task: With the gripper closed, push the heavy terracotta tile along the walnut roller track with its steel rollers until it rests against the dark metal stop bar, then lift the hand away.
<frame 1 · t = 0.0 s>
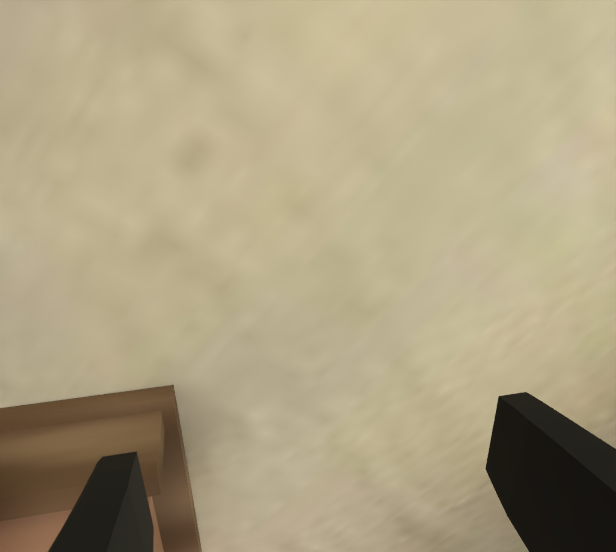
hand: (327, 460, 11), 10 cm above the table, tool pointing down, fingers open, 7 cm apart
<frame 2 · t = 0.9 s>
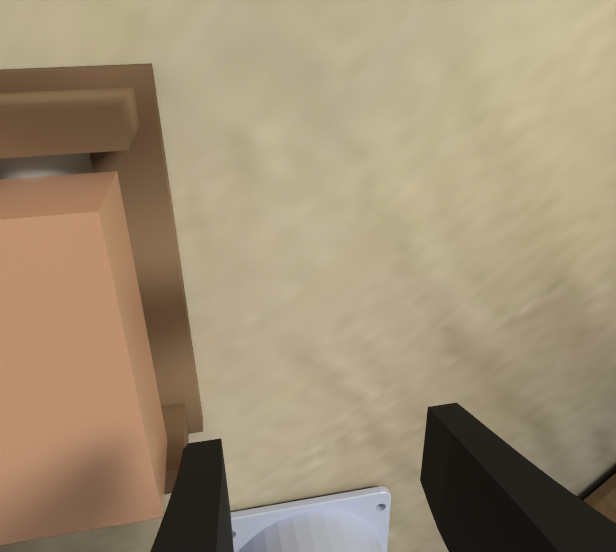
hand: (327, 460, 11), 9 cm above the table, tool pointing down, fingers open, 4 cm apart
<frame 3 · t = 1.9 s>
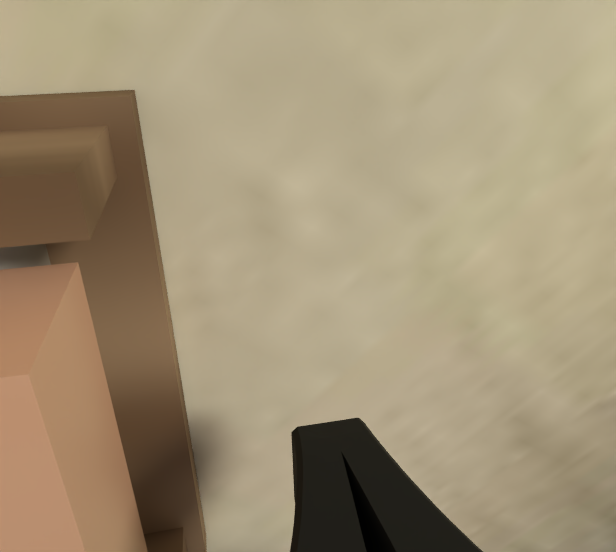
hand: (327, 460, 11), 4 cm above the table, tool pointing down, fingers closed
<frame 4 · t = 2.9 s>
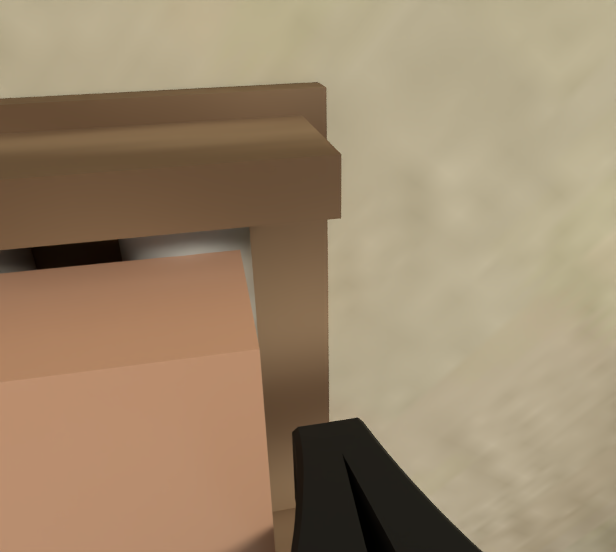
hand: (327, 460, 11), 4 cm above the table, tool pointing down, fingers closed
tile: (0, 486, 10), point 3 cm above the table, touching roller track
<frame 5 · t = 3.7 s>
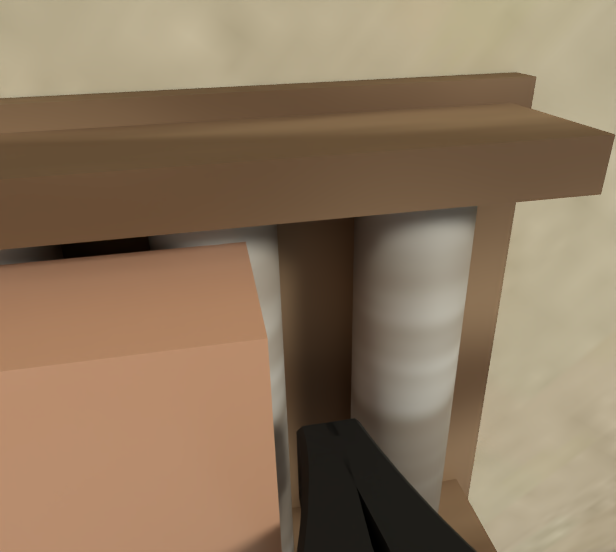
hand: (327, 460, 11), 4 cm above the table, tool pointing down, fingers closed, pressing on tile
roller track: (148, 366, 14), on the table
tile: (4, 480, 10), point 3 cm above the table, touching gripper, roller track
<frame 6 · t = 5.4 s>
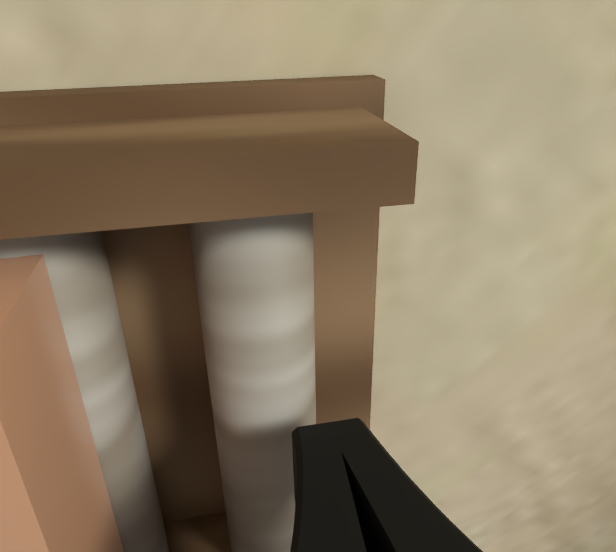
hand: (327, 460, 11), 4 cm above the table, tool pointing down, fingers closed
roller track: (11, 376, 13), on the table
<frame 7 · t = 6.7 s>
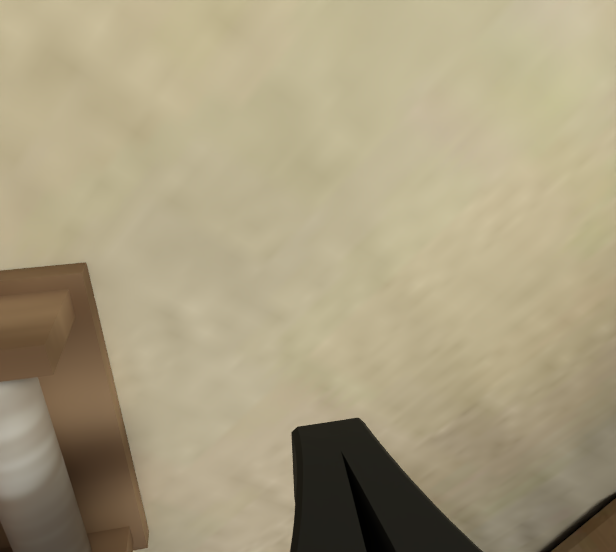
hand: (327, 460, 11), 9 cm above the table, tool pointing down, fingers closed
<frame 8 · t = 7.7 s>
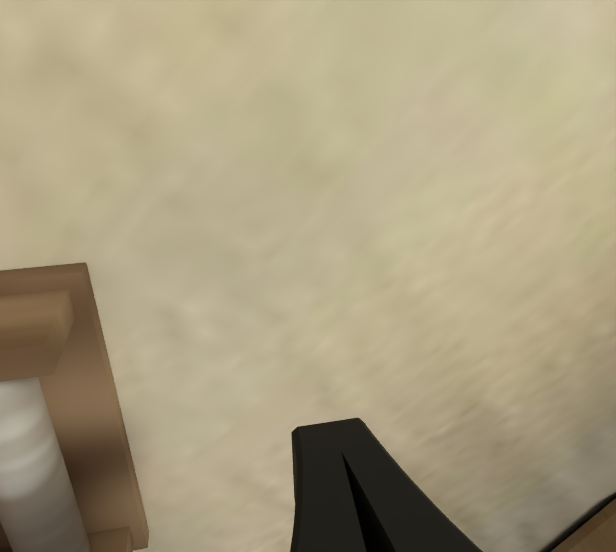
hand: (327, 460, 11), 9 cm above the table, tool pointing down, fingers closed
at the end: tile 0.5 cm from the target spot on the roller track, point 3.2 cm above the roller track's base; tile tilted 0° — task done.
